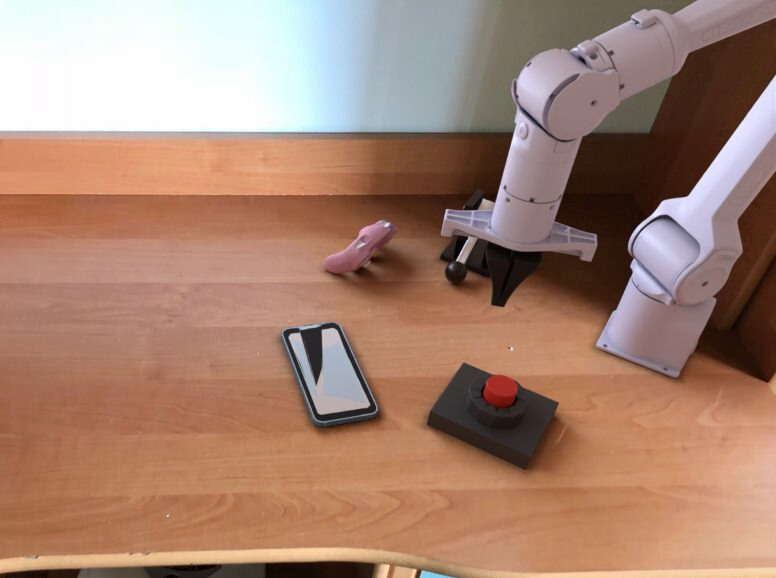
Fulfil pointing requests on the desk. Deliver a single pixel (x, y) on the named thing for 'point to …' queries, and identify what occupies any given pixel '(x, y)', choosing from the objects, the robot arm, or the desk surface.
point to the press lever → (465, 253)
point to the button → (500, 391)
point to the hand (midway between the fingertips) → (497, 300)
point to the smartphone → (328, 374)
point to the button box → (492, 417)
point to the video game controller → (361, 248)
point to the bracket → (454, 249)
